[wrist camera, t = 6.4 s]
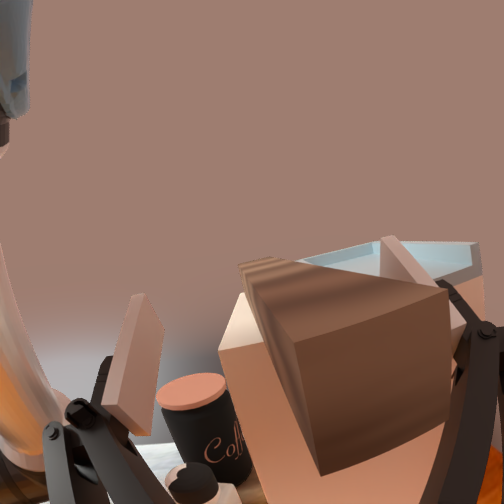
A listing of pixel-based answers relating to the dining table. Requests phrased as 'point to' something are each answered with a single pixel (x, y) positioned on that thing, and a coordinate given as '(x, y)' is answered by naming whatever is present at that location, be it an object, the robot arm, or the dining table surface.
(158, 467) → the dining table surface
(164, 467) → the dining table surface
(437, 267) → the tray
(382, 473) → the plinth
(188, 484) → the medicine bottle
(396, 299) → the walnut bar
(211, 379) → the coffee jar
